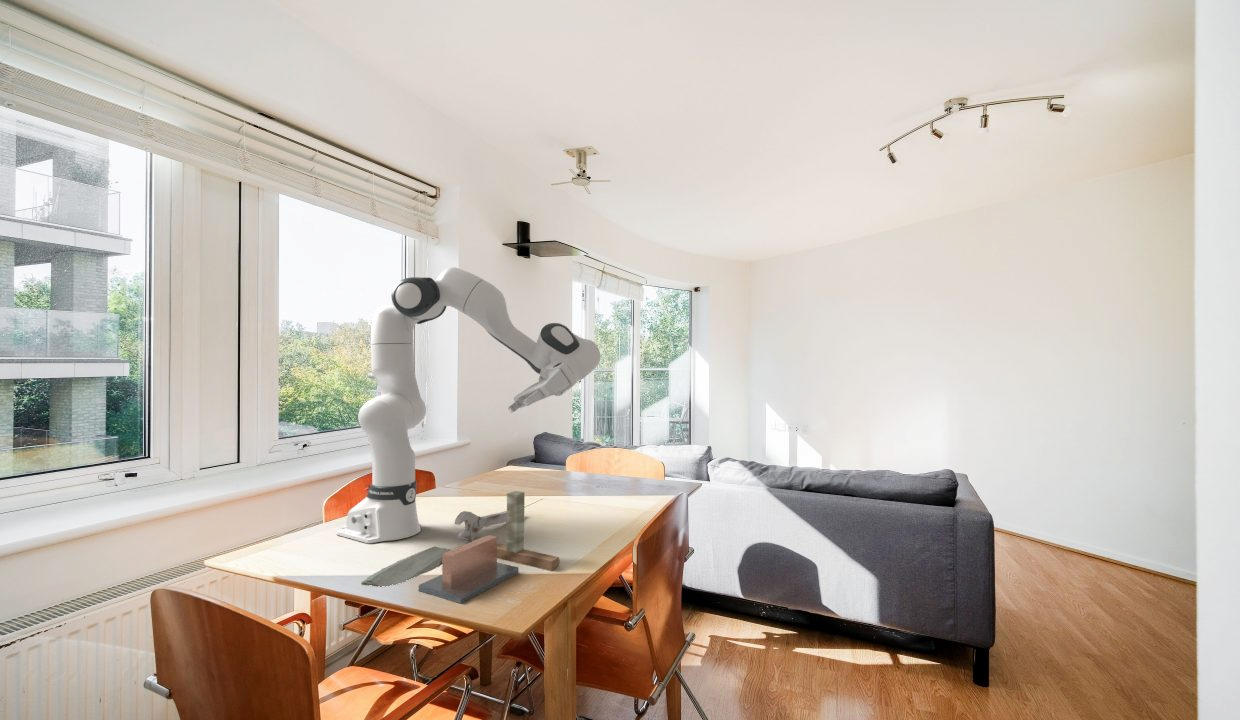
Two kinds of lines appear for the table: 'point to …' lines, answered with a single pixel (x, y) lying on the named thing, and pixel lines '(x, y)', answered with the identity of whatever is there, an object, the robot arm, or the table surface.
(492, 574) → the stand
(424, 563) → the stone slab
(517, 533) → the brown t-shaped piece
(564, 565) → the table surface
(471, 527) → the wrench
